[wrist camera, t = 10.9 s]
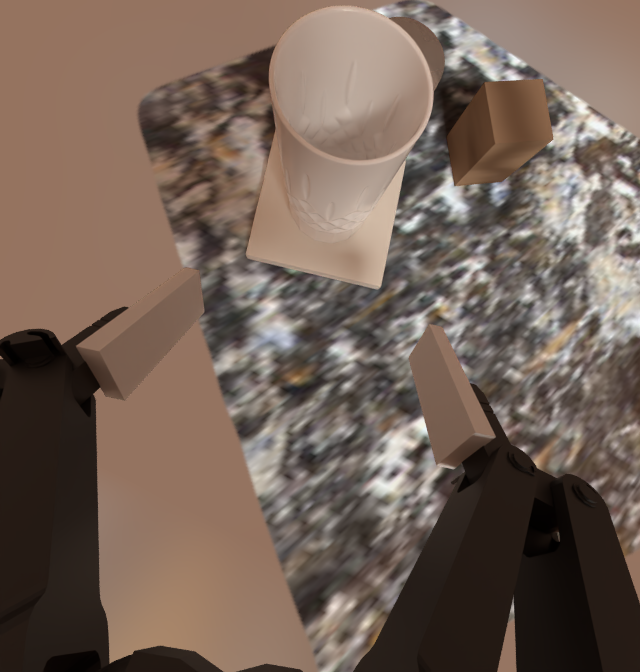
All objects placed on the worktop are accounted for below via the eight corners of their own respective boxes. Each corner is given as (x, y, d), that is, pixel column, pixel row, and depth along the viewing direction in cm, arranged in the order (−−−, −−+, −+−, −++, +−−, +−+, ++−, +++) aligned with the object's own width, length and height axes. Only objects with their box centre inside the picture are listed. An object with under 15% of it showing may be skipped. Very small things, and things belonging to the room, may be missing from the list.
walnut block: (492, 134, 24) (542, 78, 19) (501, 182, 24) (553, 139, 19) (445, 137, 24) (484, 82, 19) (454, 186, 24) (495, 143, 19)
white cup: (265, 215, 21) (233, 94, 11) (316, 146, 21) (331, -28, 11) (340, 268, 21) (377, 197, 11) (388, 198, 22) (463, 73, 12)
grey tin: (414, 113, 24) (452, 34, 18) (399, 169, 23) (434, 108, 17) (355, 93, 23) (374, 5, 17) (339, 150, 23) (353, 81, 17)
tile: (401, 168, 23) (406, 160, 22) (377, 289, 22) (380, 286, 21) (277, 134, 22) (276, 124, 21) (248, 258, 21) (245, 254, 20)
